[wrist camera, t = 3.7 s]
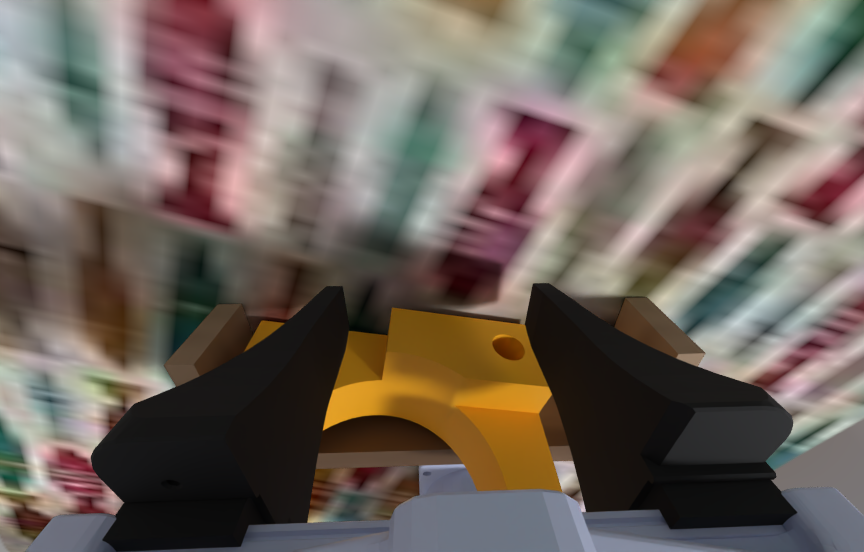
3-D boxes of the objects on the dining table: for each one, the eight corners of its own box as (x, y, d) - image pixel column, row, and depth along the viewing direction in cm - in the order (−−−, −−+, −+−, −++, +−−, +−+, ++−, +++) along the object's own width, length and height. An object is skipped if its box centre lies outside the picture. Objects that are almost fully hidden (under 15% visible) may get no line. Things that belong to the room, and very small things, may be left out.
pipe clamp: (533, 326, 15) (592, 483, 10) (503, 382, 17) (536, 531, 12) (256, 289, 13) (148, 453, 8) (267, 358, 16) (191, 516, 11)
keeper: (605, 395, 18) (642, 458, 15) (259, 404, 18) (226, 471, 15) (647, 297, 15) (705, 353, 12) (217, 304, 14) (163, 364, 11)
